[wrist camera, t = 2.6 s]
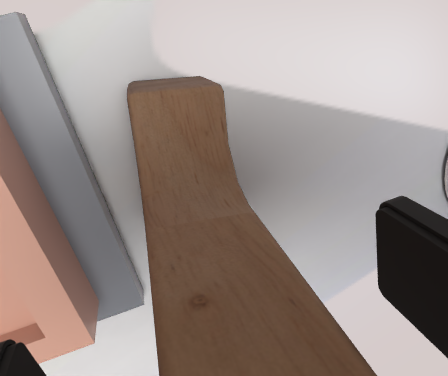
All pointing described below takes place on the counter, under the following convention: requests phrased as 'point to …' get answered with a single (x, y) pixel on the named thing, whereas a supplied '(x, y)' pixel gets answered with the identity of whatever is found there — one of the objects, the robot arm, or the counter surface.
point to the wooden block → (219, 252)
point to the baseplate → (63, 166)
